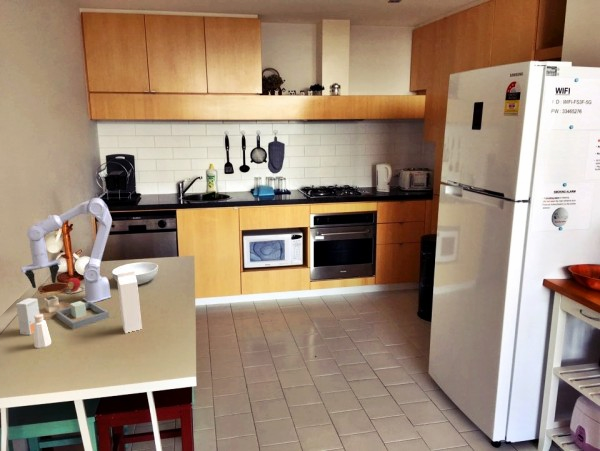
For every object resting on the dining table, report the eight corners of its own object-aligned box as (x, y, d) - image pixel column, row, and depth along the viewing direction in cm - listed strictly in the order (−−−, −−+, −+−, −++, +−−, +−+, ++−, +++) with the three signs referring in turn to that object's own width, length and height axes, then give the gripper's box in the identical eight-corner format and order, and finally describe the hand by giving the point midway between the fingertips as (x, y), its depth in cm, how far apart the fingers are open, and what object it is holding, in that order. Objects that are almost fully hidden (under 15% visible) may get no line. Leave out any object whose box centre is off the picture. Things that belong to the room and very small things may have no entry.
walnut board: (64, 303, 202) (64, 300, 202) (76, 310, 194) (75, 308, 194) (29, 313, 192) (28, 310, 192) (39, 321, 184) (38, 318, 184)
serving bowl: (141, 272, 242) (140, 259, 240) (168, 279, 230) (167, 266, 228) (104, 284, 225) (102, 270, 224) (131, 292, 213) (129, 278, 212)
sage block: (81, 312, 192) (80, 300, 191) (86, 315, 189) (85, 303, 188) (71, 315, 190) (70, 303, 189) (76, 318, 187) (74, 306, 185)
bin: (91, 307, 198) (90, 301, 197) (108, 317, 186) (108, 311, 186) (56, 317, 188) (55, 311, 187) (73, 329, 177) (72, 322, 176)
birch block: (55, 306, 195) (53, 295, 194) (59, 309, 192) (58, 297, 191) (45, 309, 193) (43, 297, 192) (49, 312, 190) (47, 300, 188)
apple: (86, 291, 216) (84, 277, 215) (66, 295, 212) (64, 281, 210) (82, 286, 223) (80, 273, 221) (64, 290, 218) (62, 277, 217)
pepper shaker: (39, 341, 168) (35, 312, 165) (54, 341, 168) (50, 311, 165) (30, 348, 162) (26, 318, 160) (46, 348, 162) (41, 318, 160)
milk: (142, 330, 175) (136, 273, 170) (125, 333, 172) (118, 276, 167) (138, 324, 180) (133, 268, 175) (122, 327, 177) (116, 271, 172)
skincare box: (30, 335, 173) (25, 304, 170) (20, 334, 173) (15, 303, 171) (42, 328, 178) (37, 298, 176) (32, 327, 179) (27, 297, 177)
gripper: (23, 259, 187) (28, 291, 190) (61, 251, 197) (65, 282, 200) (17, 256, 192) (22, 287, 195) (55, 248, 202) (59, 278, 205)
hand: (44, 284), depth 198 cm, fingers open, 7 cm apart
